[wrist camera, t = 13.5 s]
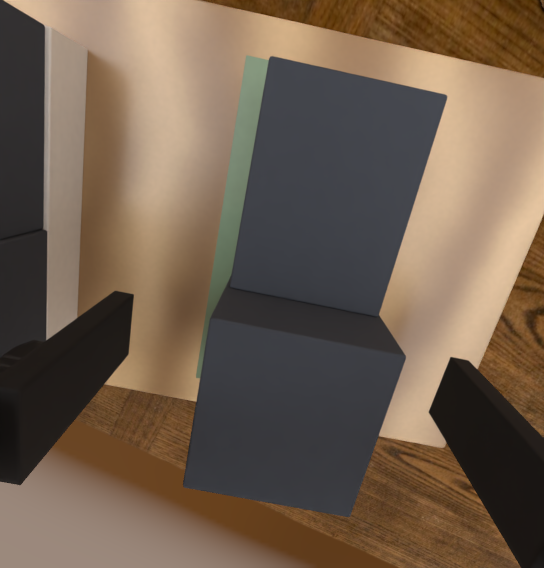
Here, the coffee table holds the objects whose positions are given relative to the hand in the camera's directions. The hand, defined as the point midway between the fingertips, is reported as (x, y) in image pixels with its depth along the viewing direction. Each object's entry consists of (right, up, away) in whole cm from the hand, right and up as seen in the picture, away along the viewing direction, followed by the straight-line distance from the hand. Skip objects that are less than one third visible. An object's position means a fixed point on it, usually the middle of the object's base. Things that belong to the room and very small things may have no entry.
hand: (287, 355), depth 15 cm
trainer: (+1, +4, +2) cm, 5 cm away
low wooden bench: (-4, +8, +11) cm, 15 cm away
